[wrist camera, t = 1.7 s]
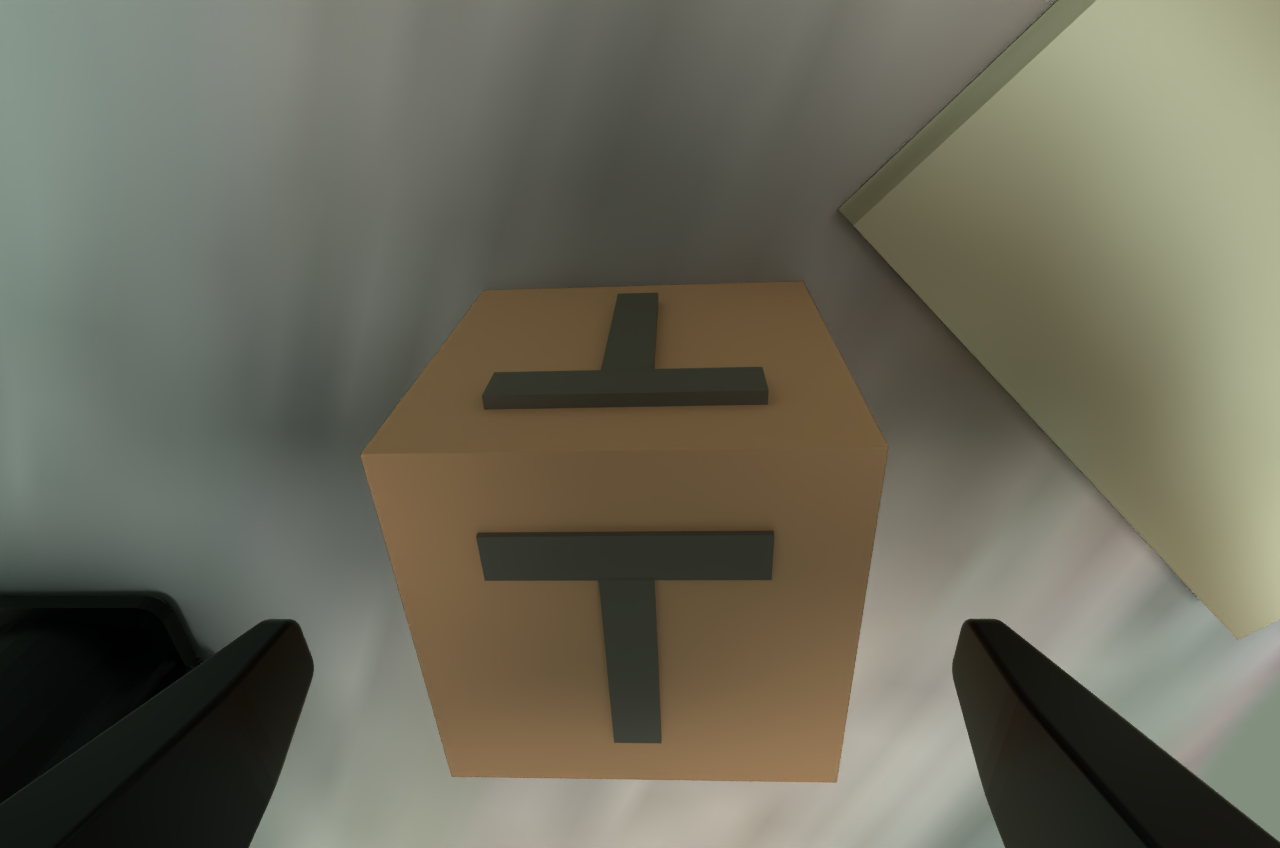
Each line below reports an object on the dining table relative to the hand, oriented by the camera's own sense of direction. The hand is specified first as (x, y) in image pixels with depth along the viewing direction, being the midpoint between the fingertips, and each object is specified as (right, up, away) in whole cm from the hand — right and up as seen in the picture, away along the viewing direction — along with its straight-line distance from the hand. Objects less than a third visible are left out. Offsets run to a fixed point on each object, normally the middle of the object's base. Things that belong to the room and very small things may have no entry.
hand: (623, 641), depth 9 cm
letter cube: (0, +3, +5) cm, 6 cm away
